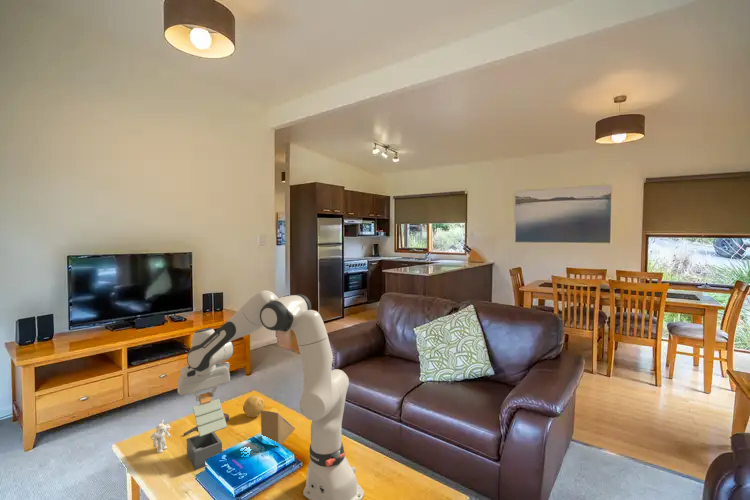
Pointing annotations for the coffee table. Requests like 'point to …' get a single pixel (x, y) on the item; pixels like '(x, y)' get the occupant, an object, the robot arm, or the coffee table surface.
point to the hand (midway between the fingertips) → (205, 398)
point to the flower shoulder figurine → (160, 436)
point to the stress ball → (253, 406)
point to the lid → (209, 415)
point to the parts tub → (202, 449)
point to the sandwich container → (275, 426)
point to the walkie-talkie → (196, 426)
